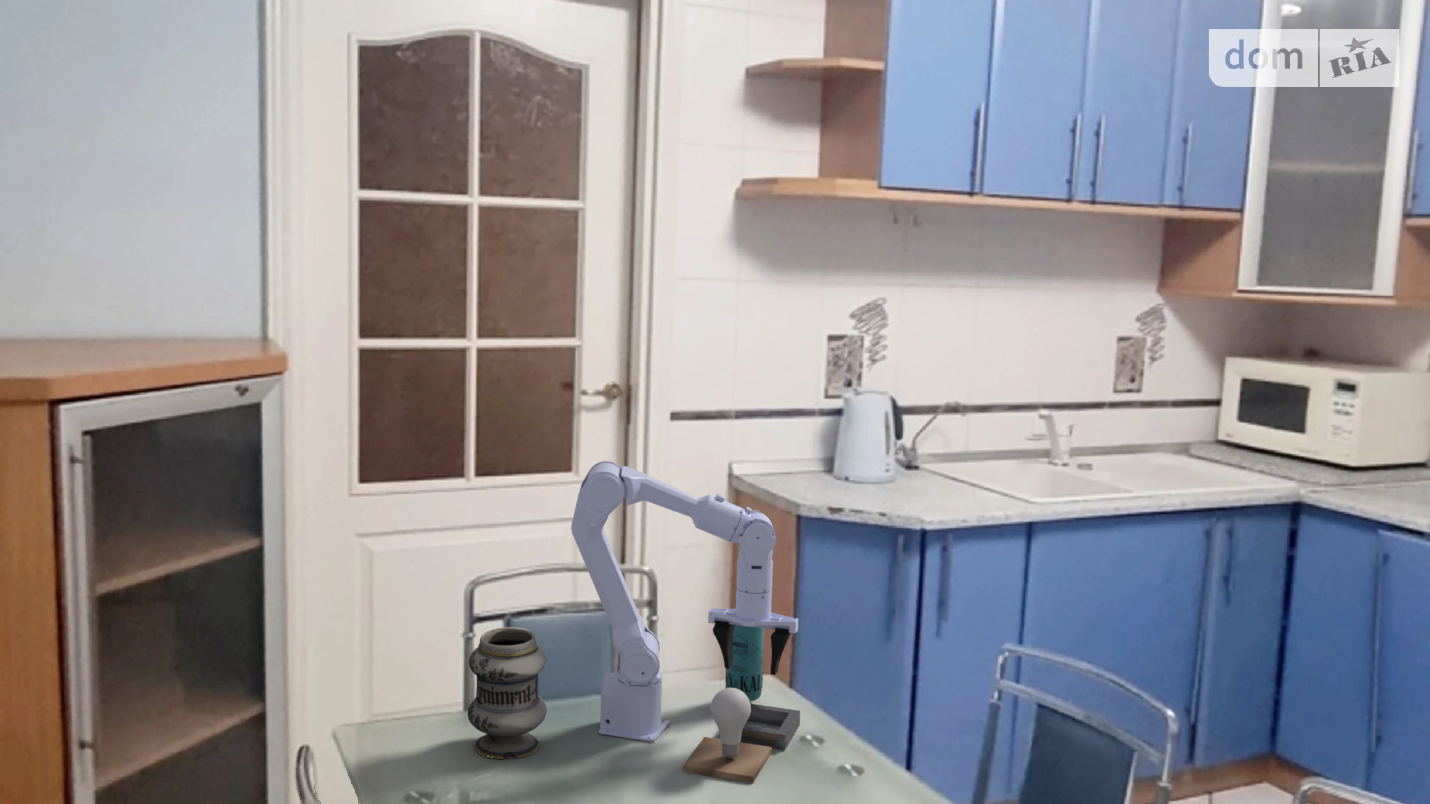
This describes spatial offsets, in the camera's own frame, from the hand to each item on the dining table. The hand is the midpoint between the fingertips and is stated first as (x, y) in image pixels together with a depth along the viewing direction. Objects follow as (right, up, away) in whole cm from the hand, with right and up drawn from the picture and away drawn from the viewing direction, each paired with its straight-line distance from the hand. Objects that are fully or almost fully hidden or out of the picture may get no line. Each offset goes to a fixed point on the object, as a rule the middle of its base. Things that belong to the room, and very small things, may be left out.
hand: (751, 669), depth 195 cm
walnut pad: (-4, -12, -10) cm, 16 cm away
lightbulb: (-4, -11, -11) cm, 16 cm away
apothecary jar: (-38, -11, -7) cm, 40 cm away
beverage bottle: (-1, -9, +13) cm, 16 cm away
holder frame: (+2, -10, +1) cm, 11 cm away
